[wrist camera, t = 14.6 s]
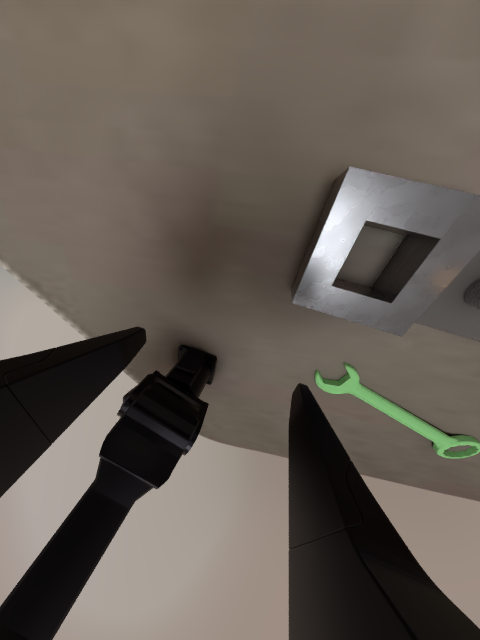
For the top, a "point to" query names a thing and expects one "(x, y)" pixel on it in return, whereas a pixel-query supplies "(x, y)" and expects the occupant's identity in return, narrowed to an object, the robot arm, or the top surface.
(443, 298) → the rubber mat
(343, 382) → the wrench
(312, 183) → the top surface
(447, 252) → the block
